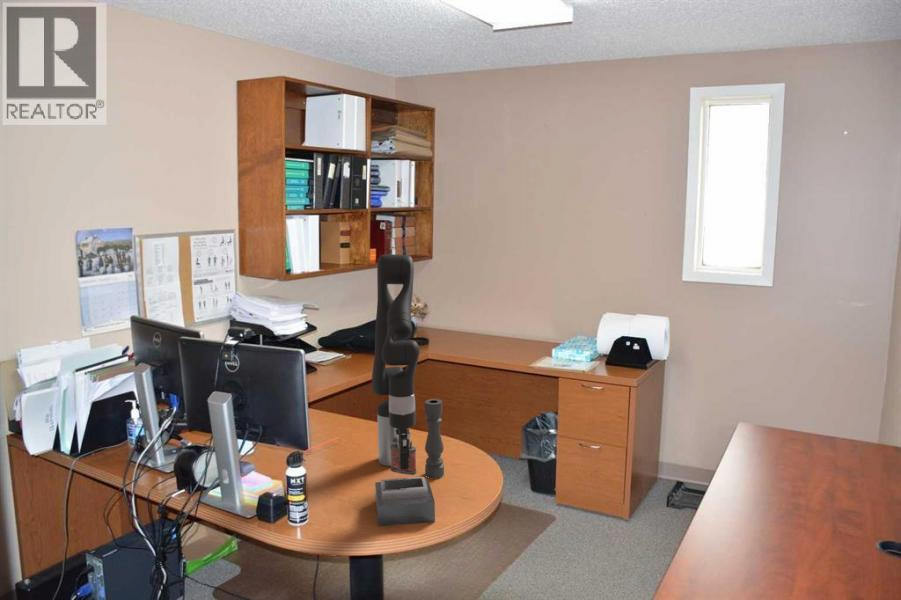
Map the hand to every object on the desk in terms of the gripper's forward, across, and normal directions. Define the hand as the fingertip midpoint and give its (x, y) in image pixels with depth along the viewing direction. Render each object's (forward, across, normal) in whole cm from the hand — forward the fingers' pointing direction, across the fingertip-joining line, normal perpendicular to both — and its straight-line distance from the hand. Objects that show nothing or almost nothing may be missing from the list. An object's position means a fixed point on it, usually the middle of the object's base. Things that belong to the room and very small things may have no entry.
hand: (403, 465), depth 205 cm
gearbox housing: (+14, 0, 0) cm, 14 cm away
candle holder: (+14, -24, +12) cm, 30 cm away
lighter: (+2, 0, 0) cm, 2 cm away
